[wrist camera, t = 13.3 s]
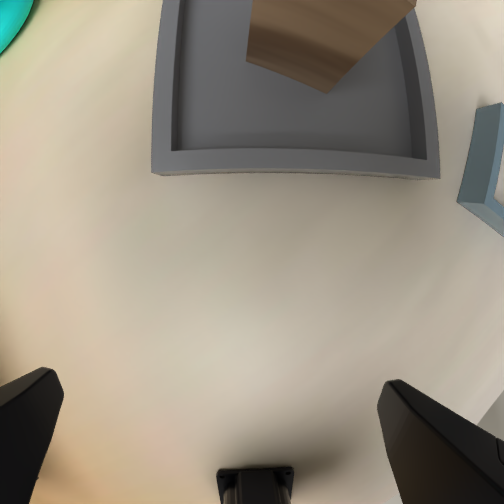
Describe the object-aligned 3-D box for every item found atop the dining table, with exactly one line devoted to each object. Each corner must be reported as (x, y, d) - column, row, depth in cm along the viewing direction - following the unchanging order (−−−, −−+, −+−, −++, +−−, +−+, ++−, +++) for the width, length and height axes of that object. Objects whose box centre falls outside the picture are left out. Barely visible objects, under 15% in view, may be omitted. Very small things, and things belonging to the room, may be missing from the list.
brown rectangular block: (326, 94, 16) (415, 6, 6) (245, 61, 15) (261, -60, 5) (349, 35, 15) (425, -57, 5) (275, 4, 14) (307, -109, 5)
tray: (418, 179, 18) (440, 178, 15) (162, 175, 17) (151, 172, 14) (388, -12, 15) (402, -27, 12) (177, -31, 14) (172, -51, 11)
